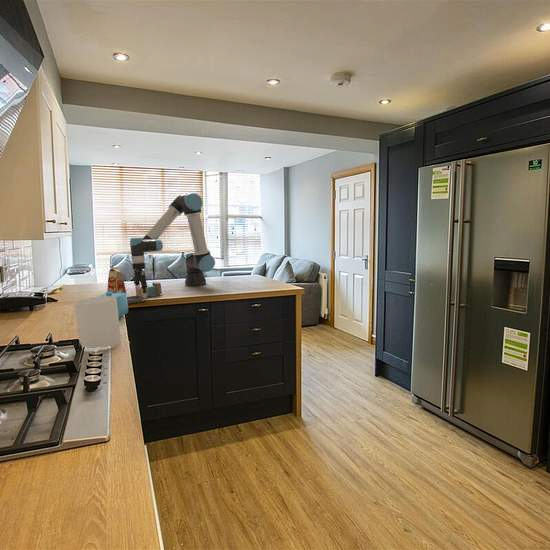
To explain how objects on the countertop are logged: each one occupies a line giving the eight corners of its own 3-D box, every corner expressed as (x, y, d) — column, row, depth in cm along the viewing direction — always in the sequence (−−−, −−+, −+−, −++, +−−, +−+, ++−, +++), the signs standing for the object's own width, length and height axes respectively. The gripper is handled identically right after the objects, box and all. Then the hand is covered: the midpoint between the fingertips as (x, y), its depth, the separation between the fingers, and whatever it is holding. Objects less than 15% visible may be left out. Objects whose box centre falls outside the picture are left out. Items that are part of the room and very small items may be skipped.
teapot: (113, 324, 180) (110, 295, 178) (90, 324, 181) (87, 296, 179) (134, 312, 201) (131, 286, 199) (113, 313, 202) (111, 287, 200)
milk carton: (119, 299, 239) (116, 267, 236) (106, 299, 240) (102, 267, 237) (127, 295, 247) (124, 265, 244) (115, 295, 249) (111, 265, 246)
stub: (144, 295, 245) (143, 286, 244) (147, 297, 241) (146, 287, 240) (136, 297, 242) (135, 287, 242) (138, 298, 238) (137, 288, 238)
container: (94, 339, 158) (89, 296, 155) (127, 339, 156) (123, 295, 154) (72, 352, 143) (66, 304, 141) (109, 351, 142) (104, 304, 139)
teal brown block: (158, 293, 252) (157, 281, 250) (162, 294, 246) (161, 282, 245) (144, 295, 246) (143, 283, 245) (148, 297, 241) (147, 284, 240)
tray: (139, 298, 236) (138, 295, 236) (144, 301, 228) (143, 297, 228) (122, 301, 230) (121, 297, 230) (126, 304, 222) (126, 300, 222)
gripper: (126, 261, 246) (129, 294, 249) (138, 264, 227) (141, 300, 230) (138, 260, 251) (141, 293, 254) (150, 263, 231) (153, 298, 234)
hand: (141, 296), depth 242 cm, fingers open, 12 cm apart
